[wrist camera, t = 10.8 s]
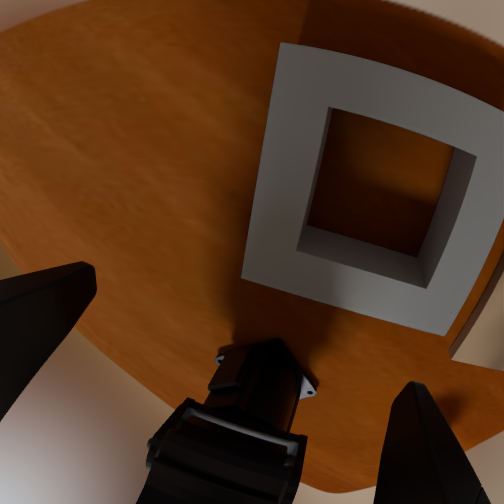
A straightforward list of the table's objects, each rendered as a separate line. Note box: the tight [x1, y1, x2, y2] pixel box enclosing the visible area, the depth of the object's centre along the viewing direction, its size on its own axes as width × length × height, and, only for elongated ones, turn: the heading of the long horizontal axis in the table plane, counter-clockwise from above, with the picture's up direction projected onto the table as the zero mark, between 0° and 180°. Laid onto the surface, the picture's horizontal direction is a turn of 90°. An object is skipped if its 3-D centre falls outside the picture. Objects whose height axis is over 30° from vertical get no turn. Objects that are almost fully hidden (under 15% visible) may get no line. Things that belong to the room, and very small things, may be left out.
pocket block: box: [241, 42, 504, 336], centre depth 15 cm, size 12×12×4 cm
